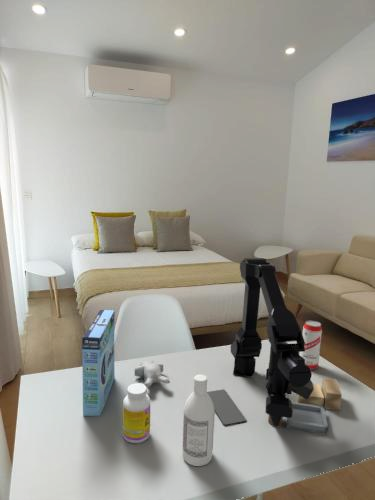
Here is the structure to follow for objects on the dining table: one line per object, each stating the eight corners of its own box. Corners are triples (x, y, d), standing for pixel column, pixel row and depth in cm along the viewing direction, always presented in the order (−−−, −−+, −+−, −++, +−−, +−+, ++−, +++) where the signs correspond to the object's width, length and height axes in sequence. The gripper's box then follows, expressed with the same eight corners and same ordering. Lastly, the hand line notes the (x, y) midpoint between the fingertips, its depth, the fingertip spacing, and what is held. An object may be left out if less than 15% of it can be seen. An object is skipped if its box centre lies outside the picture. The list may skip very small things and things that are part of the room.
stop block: (324, 408, 104) (326, 392, 103) (320, 392, 111) (322, 377, 110) (339, 410, 103) (341, 394, 102) (334, 394, 111) (336, 379, 110)
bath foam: (195, 440, 89) (198, 366, 85) (218, 455, 85) (222, 377, 81) (176, 456, 84) (178, 377, 80) (199, 472, 80) (203, 390, 76)
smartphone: (224, 425, 95) (203, 392, 108) (223, 428, 95) (203, 394, 109) (247, 420, 97) (224, 388, 111) (247, 423, 97) (224, 391, 111)
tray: (287, 427, 95) (287, 421, 95) (285, 407, 104) (286, 401, 103) (327, 434, 93) (328, 427, 93) (322, 413, 102) (323, 406, 101)
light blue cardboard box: (99, 377, 116) (98, 309, 111) (115, 377, 116) (115, 309, 111) (82, 416, 97) (80, 336, 92) (101, 417, 97) (100, 337, 92)
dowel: (268, 425, 96) (270, 405, 94) (268, 417, 99) (270, 397, 98) (282, 428, 95) (284, 407, 94) (281, 419, 98) (283, 399, 97)
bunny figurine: (158, 355, 123) (173, 373, 109) (159, 370, 123) (173, 389, 109) (131, 359, 120) (142, 378, 106) (131, 374, 120) (142, 395, 106)
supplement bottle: (148, 445, 87) (148, 397, 85) (120, 444, 87) (120, 395, 85) (151, 426, 94) (152, 381, 91) (125, 425, 94) (125, 380, 91)
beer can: (319, 371, 124) (324, 327, 120) (300, 369, 125) (304, 325, 122) (316, 363, 130) (321, 320, 126) (298, 360, 131) (302, 318, 128)
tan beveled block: (298, 404, 106) (299, 394, 105) (295, 390, 113) (296, 381, 112) (323, 407, 105) (324, 397, 104) (318, 393, 112) (319, 384, 111)
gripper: (317, 390, 83) (311, 449, 86) (309, 352, 101) (303, 403, 104) (268, 382, 85) (263, 440, 88) (268, 347, 103) (264, 397, 106)
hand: (275, 418), depth 97 cm, fingers open, 5 cm apart
